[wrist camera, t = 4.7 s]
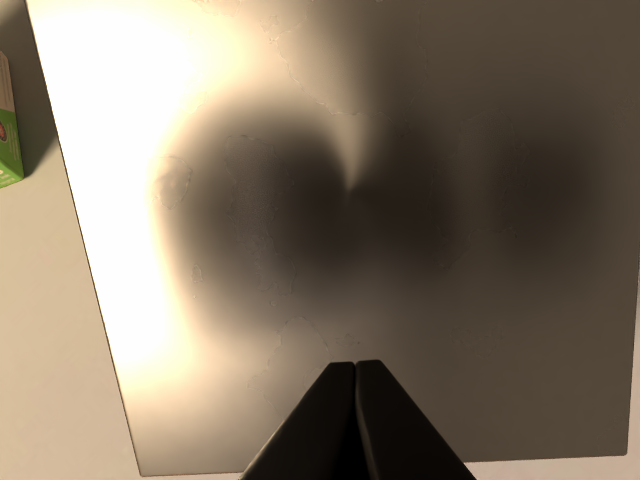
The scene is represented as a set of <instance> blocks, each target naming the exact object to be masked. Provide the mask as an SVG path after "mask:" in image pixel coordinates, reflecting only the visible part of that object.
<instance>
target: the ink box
mask: <svg viewBox="0 0 640 480" xmlns="http://www.w3.org/2000/svg"><path fill="white" fill-rule="evenodd" d="M23 178H24V172H23V165H22V158H21V151H20V144H19V136H18V129H17V122H16V114H15V107H14V100H13V93H12V86H11V78H10V71H9V64H8V58H7V57H6V56H5V55H4V54H3V53H2V52H1V51H0V188H2V187H5V186H7V185H10V184H13V183H15V182H18V181H20V180H22V179H23Z"/></svg>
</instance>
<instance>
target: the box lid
mask: <svg viewBox="0 0 640 480" xmlns="http://www.w3.org/2000/svg"><path fill="white" fill-rule="evenodd" d="M24 2H25V6H26V10H27V14H28V18H29V22H30V26H31V30H32V35H33V39H34V43H35V47H36V51H37V55H38V59H39V63H40V67H41V71H42V76H43V80H44V84H45V88H46V92H47V96H48V100H49V104H50V108H51V112H52V117H53V121H54V125H55V129H56V133H57V137H58V141H59V145H60V149H61V153H62V157H63V162H64V166H65V170H66V174H67V178H68V182H69V186H70V190H71V194H72V198H73V203H74V207H75V211H76V215H77V219H78V223H79V227H80V231H81V235H82V239H83V244H84V248H85V252H86V256H87V260H88V264H89V268H90V272H91V276H92V280H93V285H94V289H95V293H96V297H97V301H98V305H99V309H100V313H101V317H102V321H103V325H104V330H105V334H106V338H107V342H108V346H109V350H110V354H111V358H112V362H113V366H114V371H115V375H116V379H117V383H118V387H119V391H120V395H121V399H122V403H123V407H124V412H125V416H126V420H127V424H128V428H129V432H130V436H131V440H132V444H133V448H134V453H135V457H136V461H137V465H138V469H139V473H140V476H142V477H151V476H174V475H197V474H219V473H242V472H244V471H245V469H246V468H247V467H248V466H249V464H250V463H251V462H252V461H253V459H254V458H255V457H256V455H257V454H258V453H259V452H260V450H261V449H262V448H263V446H264V445H265V444H266V443H267V441H268V440H269V439H270V438H271V436H272V435H273V434H274V432H275V431H276V430H277V429H278V427H279V426H280V425H281V424H282V422H283V421H284V420H285V418H286V417H287V416H288V415H289V413H290V412H291V411H292V410H293V408H294V407H295V406H296V404H297V403H298V402H299V401H300V399H301V398H302V397H303V395H304V394H305V393H306V392H307V390H308V389H309V388H310V387H311V385H312V384H313V383H314V381H315V380H316V379H317V378H318V376H319V375H320V374H321V373H322V371H323V370H324V369H325V367H326V366H327V365H328V364H329V363H331V362H345V361H352V362H354V364H356V362H357V361H361V360H375V359H379V360H381V361H382V362H383V363H384V364H385V366H386V367H387V368H388V369H389V371H390V372H391V373H392V374H393V376H394V377H395V378H396V379H397V381H398V382H399V383H400V384H401V386H402V387H403V388H404V389H405V391H406V392H407V393H408V394H409V396H410V397H411V398H412V399H413V401H414V402H415V403H416V404H417V406H418V407H419V408H420V409H421V411H422V412H423V413H424V414H425V416H426V417H427V418H428V420H429V421H430V422H431V423H432V425H433V426H434V427H435V428H436V430H437V431H438V432H439V433H440V435H441V436H442V437H443V438H444V440H445V441H446V442H447V443H448V445H449V446H450V447H451V448H452V450H453V451H454V452H455V453H456V455H457V456H458V457H459V458H460V460H461V461H462V462H463V463H467V462H490V461H513V460H535V459H558V458H580V457H603V456H624V455H626V454H627V446H628V430H629V414H630V398H631V383H632V367H633V351H634V335H635V319H636V303H637V288H638V272H639V256H640V0H24Z"/></svg>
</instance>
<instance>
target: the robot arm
mask: <svg viewBox="0 0 640 480" xmlns="http://www.w3.org/2000/svg"><path fill="white" fill-rule="evenodd" d="M238 480H476V478H475V477H474V476H473V475H472V473H471V472H470V471H469V470H468V468H467V467H466V466H465V465H464V463H463V462H462V461H461V460H460V458H459V457H458V456H457V455H456V453H455V452H454V451H453V450H452V448H451V447H450V446H449V445H448V443H447V442H446V441H445V440H444V438H443V437H442V436H441V435H440V433H439V432H438V431H437V430H436V428H435V427H434V426H433V425H432V423H431V422H430V421H429V420H428V418H427V417H426V416H425V414H424V413H423V412H422V411H421V409H420V408H419V407H418V406H417V404H416V403H415V402H414V401H413V399H412V398H411V397H410V396H409V394H408V393H407V392H406V391H405V389H404V388H403V387H402V386H401V384H400V383H399V382H398V381H397V379H396V378H395V377H394V376H393V374H392V373H391V372H390V371H389V369H388V368H387V367H386V366H385V364H384V363H383V362H382V361H381V360H379V359H375V360H361V361H357V362H356V364H354V362H352V361H345V362H331V363H329V364H328V365H327V366H326V367H325V369H324V370H323V371H322V373H321V374H320V375H319V376H318V378H317V379H316V380H315V381H314V383H313V384H312V385H311V387H310V388H309V389H308V390H307V392H306V393H305V394H304V395H303V397H302V398H301V399H300V401H299V402H298V403H297V404H296V406H295V407H294V408H293V410H292V411H291V412H290V413H289V415H288V416H287V417H286V418H285V420H284V421H283V422H282V424H281V425H280V426H279V427H278V429H277V430H276V431H275V432H274V434H273V435H272V436H271V438H270V439H269V440H268V441H267V443H266V444H265V445H264V446H263V448H262V449H261V450H260V452H259V453H258V454H257V455H256V457H255V458H254V459H253V461H252V462H251V463H250V464H249V466H248V467H247V468H246V469H245V471H244V472H243V473H242V475H241V476H240V477H239V478H238Z"/></svg>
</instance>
